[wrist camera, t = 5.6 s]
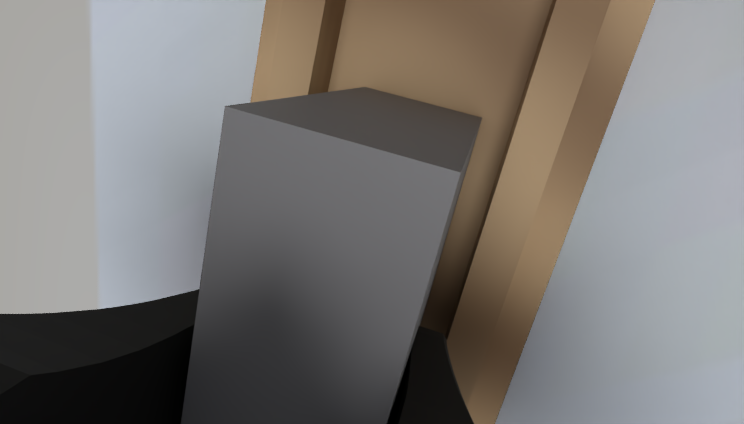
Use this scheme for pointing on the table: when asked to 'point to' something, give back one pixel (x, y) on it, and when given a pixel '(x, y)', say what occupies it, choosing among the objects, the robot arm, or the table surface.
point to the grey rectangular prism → (321, 255)
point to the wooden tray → (478, 137)
